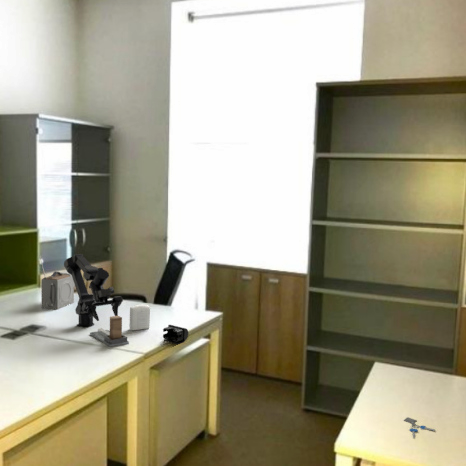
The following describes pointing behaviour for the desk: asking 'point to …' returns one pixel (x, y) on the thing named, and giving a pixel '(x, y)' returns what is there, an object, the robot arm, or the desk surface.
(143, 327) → the photo printer
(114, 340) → the rail
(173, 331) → the end cap
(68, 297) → the portable television
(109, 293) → the robot arm
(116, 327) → the brown tall block
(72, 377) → the desk surface
